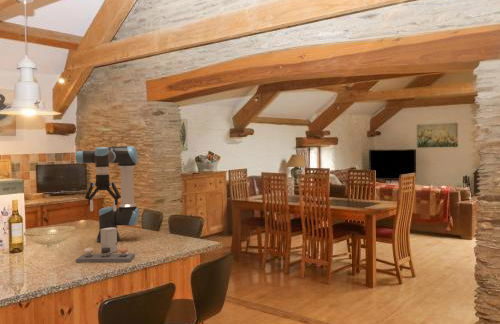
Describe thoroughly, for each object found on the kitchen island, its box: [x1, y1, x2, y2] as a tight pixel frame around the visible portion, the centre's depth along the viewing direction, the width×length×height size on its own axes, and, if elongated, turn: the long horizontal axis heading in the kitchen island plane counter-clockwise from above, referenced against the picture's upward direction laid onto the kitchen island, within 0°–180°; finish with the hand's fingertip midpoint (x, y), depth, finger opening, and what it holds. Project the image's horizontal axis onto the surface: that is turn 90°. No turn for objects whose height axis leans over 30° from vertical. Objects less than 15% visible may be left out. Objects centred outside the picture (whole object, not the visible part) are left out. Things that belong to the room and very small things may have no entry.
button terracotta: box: [118, 246, 129, 257], centre depth 262 cm, size 5×5×5 cm
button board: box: [75, 252, 136, 264], centre depth 263 cm, size 12×30×2 cm, turn 89°
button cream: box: [83, 247, 94, 257], centre depth 263 cm, size 5×5×5 cm
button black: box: [100, 247, 110, 257], centre depth 262 cm, size 5×5×5 cm
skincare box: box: [100, 227, 118, 254], centre depth 280 cm, size 8×6×15 cm
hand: (103, 211), depth 263 cm, fingers open, 13 cm apart
